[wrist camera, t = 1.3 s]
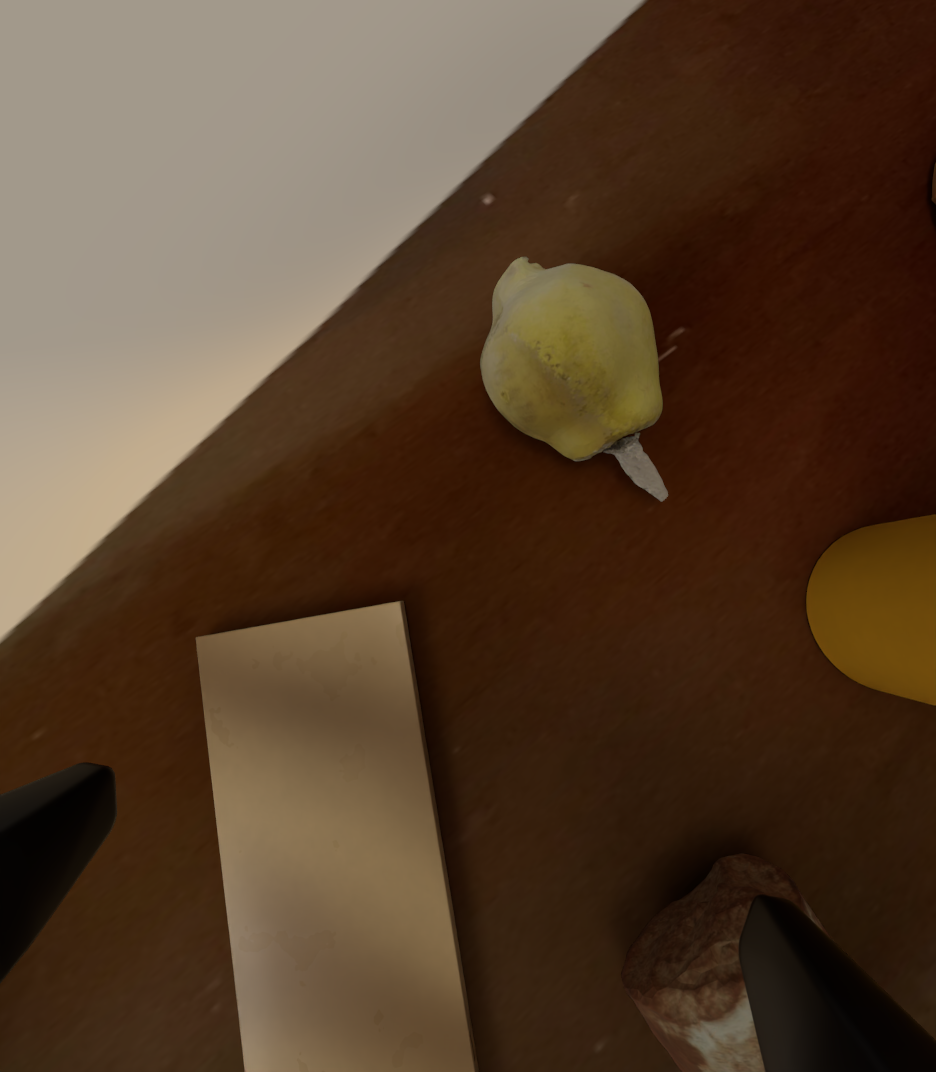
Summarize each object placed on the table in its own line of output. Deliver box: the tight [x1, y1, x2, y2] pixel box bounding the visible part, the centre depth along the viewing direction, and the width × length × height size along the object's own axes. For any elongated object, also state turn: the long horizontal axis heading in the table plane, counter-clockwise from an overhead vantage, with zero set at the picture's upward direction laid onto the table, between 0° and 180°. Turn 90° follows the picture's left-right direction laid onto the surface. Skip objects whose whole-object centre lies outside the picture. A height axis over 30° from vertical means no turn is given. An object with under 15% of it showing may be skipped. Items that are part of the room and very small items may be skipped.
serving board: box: [196, 601, 479, 1072], centre depth 19 cm, size 30×8×1 cm, turn 10°
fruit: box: [480, 257, 668, 502], centre depth 19 cm, size 6×6×10 cm
